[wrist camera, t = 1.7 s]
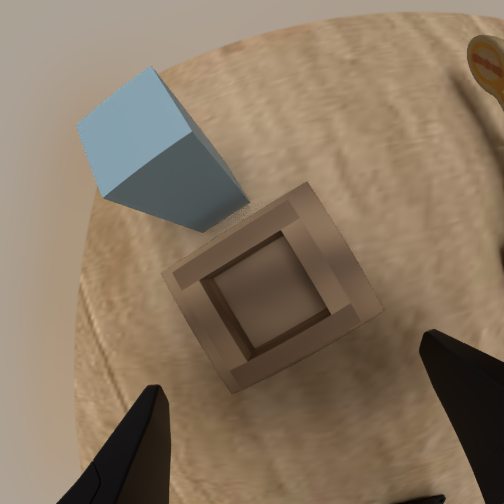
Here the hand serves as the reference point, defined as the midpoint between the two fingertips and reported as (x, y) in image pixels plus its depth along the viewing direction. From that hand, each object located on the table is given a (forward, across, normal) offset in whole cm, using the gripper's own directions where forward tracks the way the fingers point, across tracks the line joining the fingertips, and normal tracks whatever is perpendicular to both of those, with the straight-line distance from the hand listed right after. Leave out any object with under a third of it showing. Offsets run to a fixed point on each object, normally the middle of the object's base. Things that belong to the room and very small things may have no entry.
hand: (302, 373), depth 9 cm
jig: (+11, 0, +4) cm, 12 cm away
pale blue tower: (+15, +2, -2) cm, 16 cm away
